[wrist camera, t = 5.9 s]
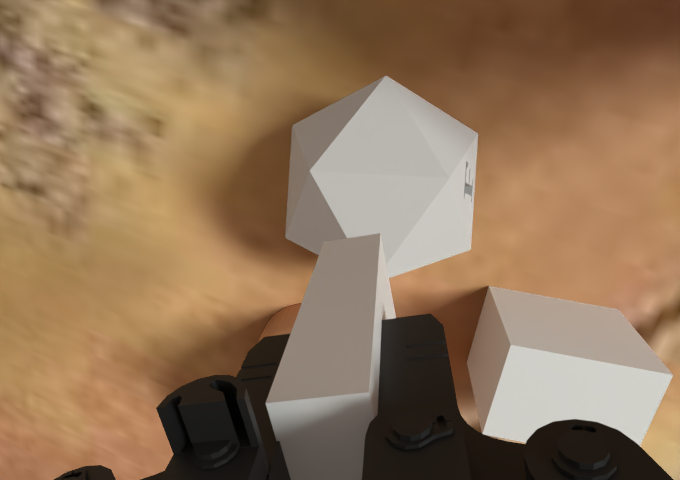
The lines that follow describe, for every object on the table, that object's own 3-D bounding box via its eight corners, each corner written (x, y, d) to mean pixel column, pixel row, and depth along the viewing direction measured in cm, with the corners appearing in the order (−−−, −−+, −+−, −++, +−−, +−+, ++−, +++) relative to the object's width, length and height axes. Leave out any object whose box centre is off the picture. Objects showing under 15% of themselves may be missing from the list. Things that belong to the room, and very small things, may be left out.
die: (396, 272, 29) (529, 293, 20) (248, 267, 25) (334, 291, 16) (406, 127, 29) (543, 86, 20) (258, 99, 25) (350, 35, 16)
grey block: (466, 361, 30) (482, 434, 24) (488, 285, 28) (510, 344, 22) (587, 384, 30) (631, 463, 24) (617, 308, 28) (672, 375, 22)
